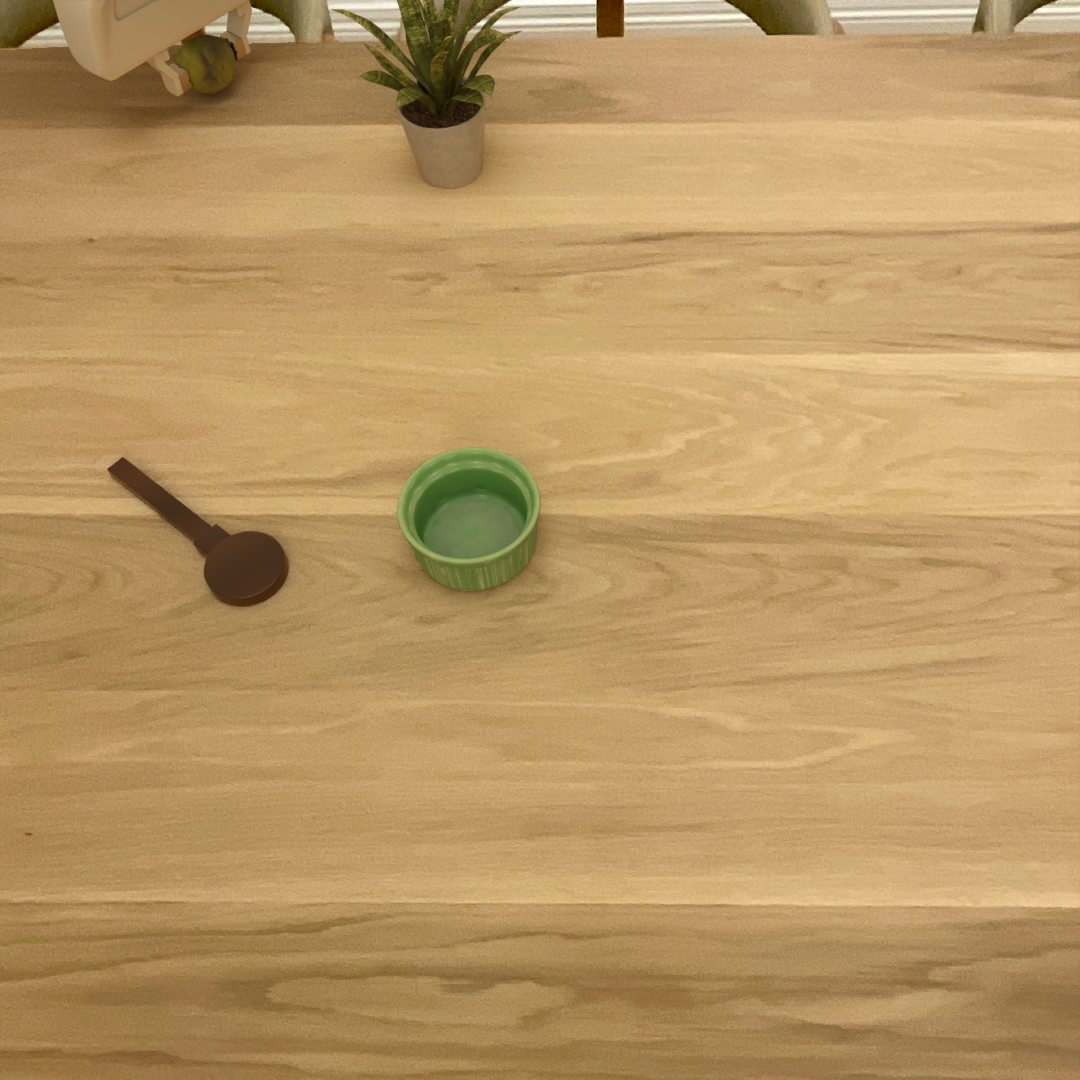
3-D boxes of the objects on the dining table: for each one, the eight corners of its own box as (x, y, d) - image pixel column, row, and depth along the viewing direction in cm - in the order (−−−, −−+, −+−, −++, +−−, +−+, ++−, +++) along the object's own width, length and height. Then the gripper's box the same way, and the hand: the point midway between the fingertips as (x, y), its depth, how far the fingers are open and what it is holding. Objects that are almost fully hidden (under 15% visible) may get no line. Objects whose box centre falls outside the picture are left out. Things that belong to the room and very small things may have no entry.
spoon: (88, 493, 79) (82, 484, 79) (148, 446, 82) (143, 437, 81) (244, 621, 74) (240, 612, 73) (305, 567, 76) (301, 558, 75)
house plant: (585, 152, 97) (578, -43, 83) (487, 250, 91) (461, 58, 77) (449, 96, 101) (421, -97, 88) (347, 186, 96) (299, -6, 82)
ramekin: (437, 621, 73) (427, 584, 69) (388, 517, 78) (376, 477, 74) (567, 568, 75) (563, 528, 71) (511, 469, 79) (505, 427, 76)
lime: (177, 99, 99) (158, 45, 95) (209, 67, 101) (192, 13, 97) (221, 112, 98) (203, 57, 94) (253, 80, 100) (237, 25, 96)
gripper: (234, -166, 92) (276, 3, 103) (15, -54, 84) (89, 116, 95) (288, -141, 90) (325, 29, 101) (69, -23, 81) (137, 147, 93)
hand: (209, 72), depth 98 cm, fingers closed on lime, 5 cm apart
